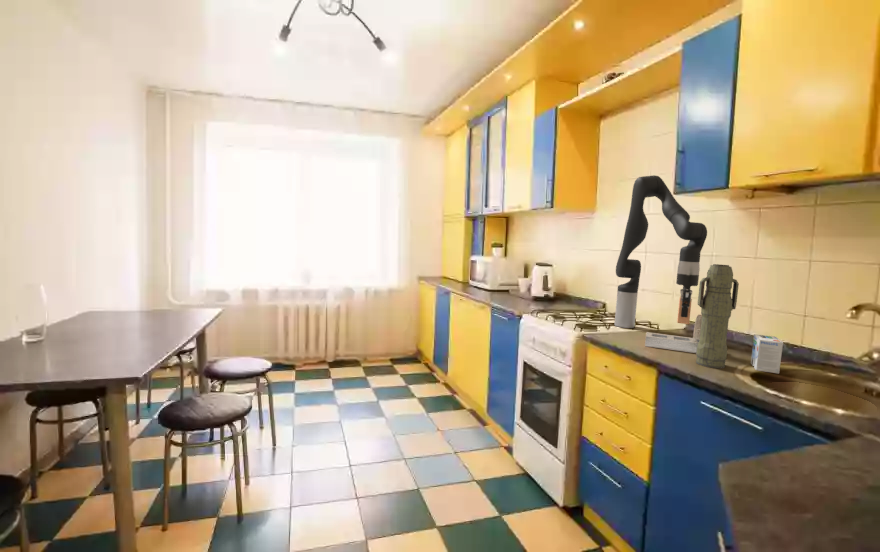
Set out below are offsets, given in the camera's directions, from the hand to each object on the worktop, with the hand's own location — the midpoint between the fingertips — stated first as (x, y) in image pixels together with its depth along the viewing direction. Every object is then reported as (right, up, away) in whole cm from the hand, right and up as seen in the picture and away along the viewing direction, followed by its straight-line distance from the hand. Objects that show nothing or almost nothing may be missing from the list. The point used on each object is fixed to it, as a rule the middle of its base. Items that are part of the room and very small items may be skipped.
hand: (683, 316), depth 175 cm
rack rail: (-1, -13, +1) cm, 13 cm away
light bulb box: (+16, -16, -22) cm, 32 cm away
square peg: (0, -3, 0) cm, 3 cm away
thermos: (-2, -15, -21) cm, 26 cm away
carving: (+15, -13, +14) cm, 24 cm away
